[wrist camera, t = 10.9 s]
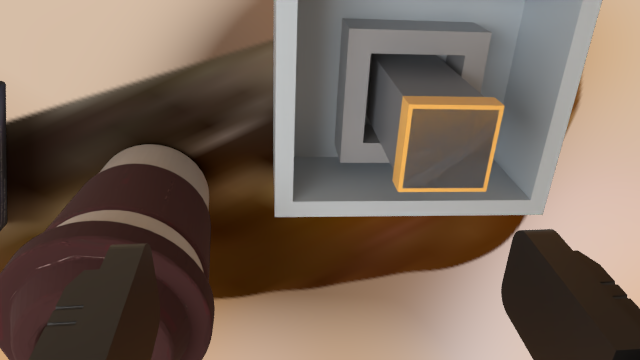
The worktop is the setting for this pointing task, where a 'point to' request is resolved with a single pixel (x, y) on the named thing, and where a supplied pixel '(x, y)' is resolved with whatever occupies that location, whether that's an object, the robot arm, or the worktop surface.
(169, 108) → the worktop surface
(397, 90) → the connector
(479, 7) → the walled box
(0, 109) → the small box
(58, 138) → the worktop surface
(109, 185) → the coffee cup
